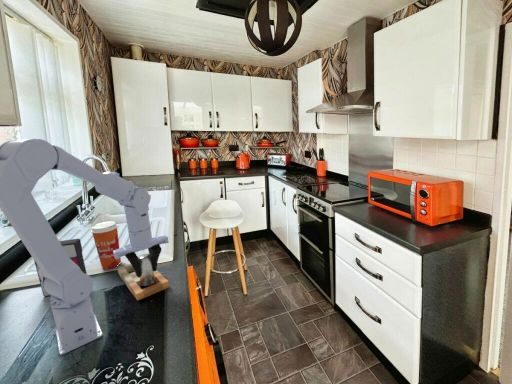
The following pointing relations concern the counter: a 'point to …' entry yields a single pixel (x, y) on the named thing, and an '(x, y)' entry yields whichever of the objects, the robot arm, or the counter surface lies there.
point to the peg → (146, 269)
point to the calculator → (70, 256)
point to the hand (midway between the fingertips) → (146, 272)
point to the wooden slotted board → (135, 285)
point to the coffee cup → (106, 243)
